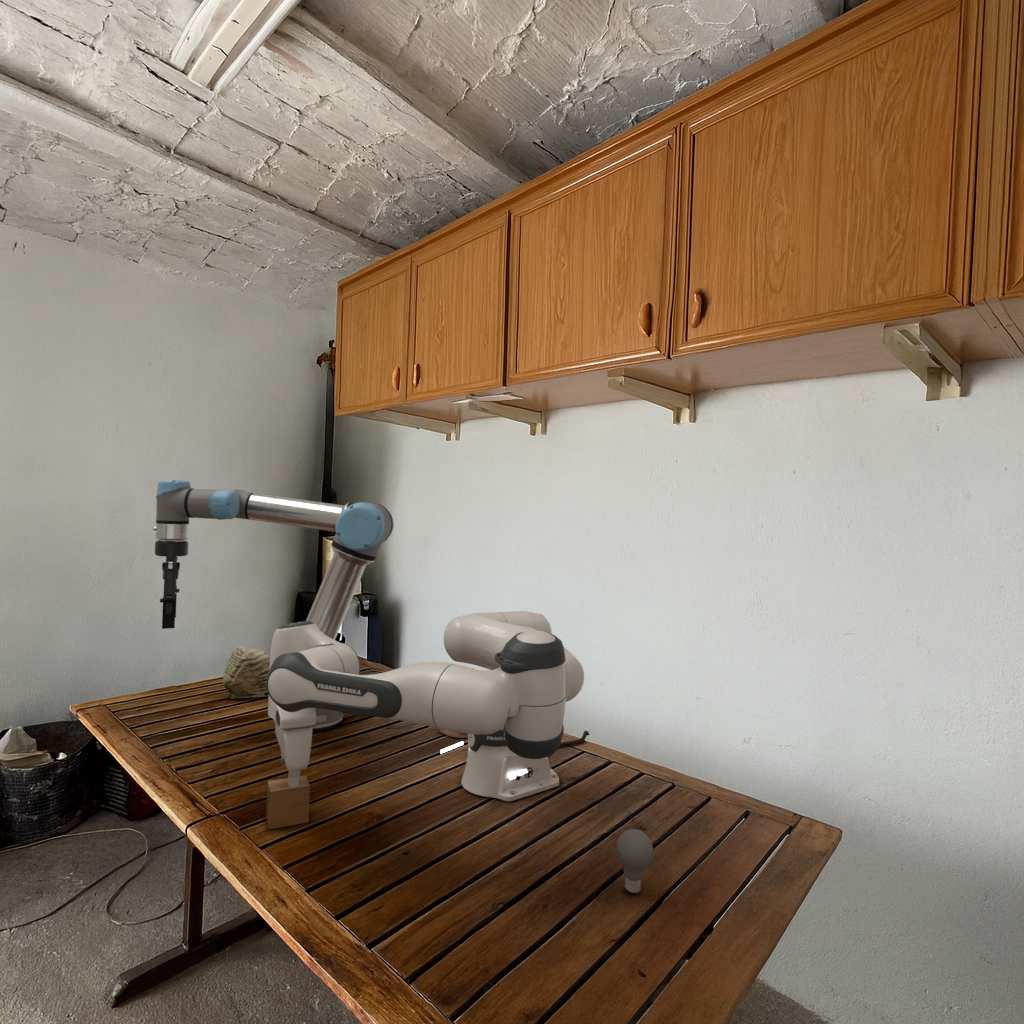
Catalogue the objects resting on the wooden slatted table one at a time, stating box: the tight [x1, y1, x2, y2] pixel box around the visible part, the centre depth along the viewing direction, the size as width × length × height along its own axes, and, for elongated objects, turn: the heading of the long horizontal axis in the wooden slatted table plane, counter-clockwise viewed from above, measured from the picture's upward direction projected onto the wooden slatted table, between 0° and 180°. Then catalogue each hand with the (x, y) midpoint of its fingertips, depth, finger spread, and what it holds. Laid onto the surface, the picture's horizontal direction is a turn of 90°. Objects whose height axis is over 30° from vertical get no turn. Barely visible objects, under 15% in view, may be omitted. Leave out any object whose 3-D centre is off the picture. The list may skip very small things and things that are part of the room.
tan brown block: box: [265, 775, 311, 830], centre depth 124 cm, size 5×7×7 cm
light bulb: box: [615, 828, 654, 894], centre depth 106 cm, size 6×6×10 cm
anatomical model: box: [438, 729, 468, 739], centre depth 175 cm, size 13×4×12 cm
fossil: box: [222, 646, 270, 699], centre depth 198 cm, size 9×18×15 cm, turn 132°
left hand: (169, 623), depth 162 cm, fingers open, 13 cm apart
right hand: (289, 775), depth 124 cm, fingers open, 8 cm apart
